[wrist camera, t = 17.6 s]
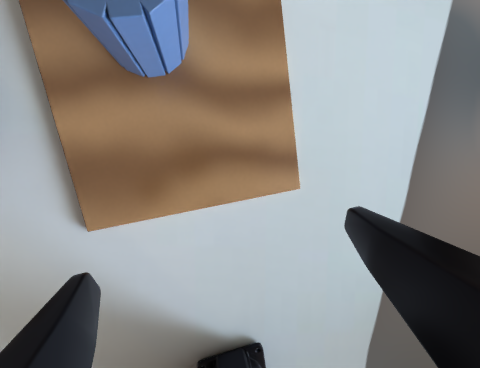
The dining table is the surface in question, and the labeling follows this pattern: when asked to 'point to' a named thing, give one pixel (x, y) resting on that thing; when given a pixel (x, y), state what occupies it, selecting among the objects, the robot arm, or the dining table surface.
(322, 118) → the dining table surface
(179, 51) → the sleeve
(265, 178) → the wooden board
